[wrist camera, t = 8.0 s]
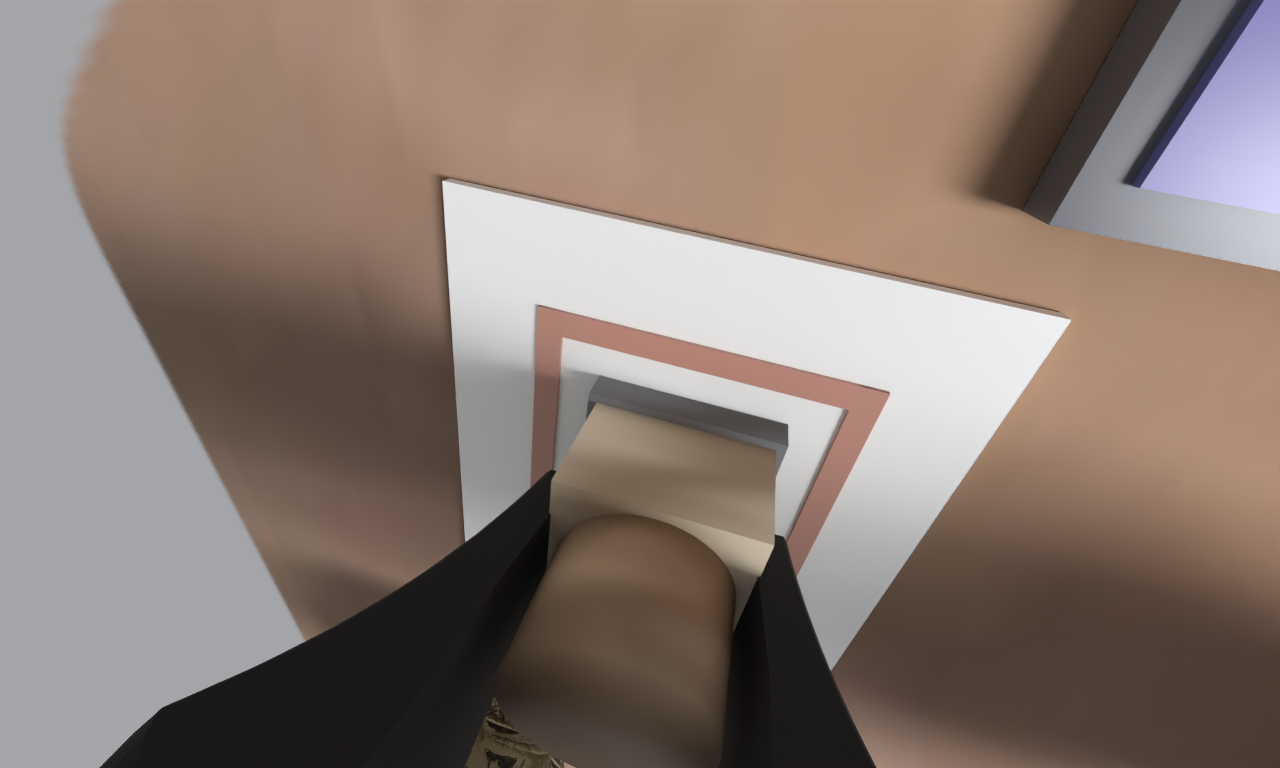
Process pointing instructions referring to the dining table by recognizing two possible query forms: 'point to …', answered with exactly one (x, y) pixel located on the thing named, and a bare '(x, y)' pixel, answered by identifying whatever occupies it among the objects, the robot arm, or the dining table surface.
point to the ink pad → (1178, 135)
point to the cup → (506, 746)
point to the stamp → (644, 581)
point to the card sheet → (732, 372)
